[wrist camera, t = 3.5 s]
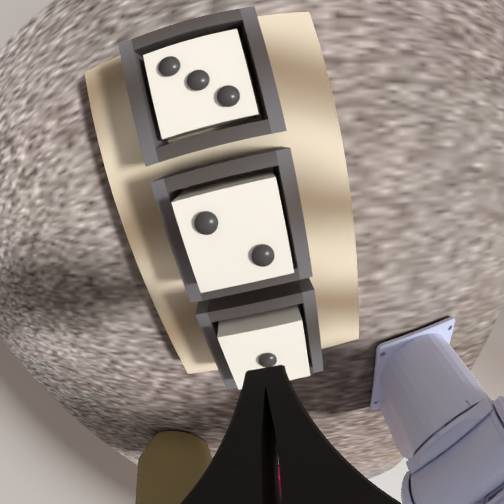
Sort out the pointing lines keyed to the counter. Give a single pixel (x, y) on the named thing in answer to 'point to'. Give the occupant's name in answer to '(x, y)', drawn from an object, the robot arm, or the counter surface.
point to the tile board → (232, 167)
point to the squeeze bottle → (171, 467)
